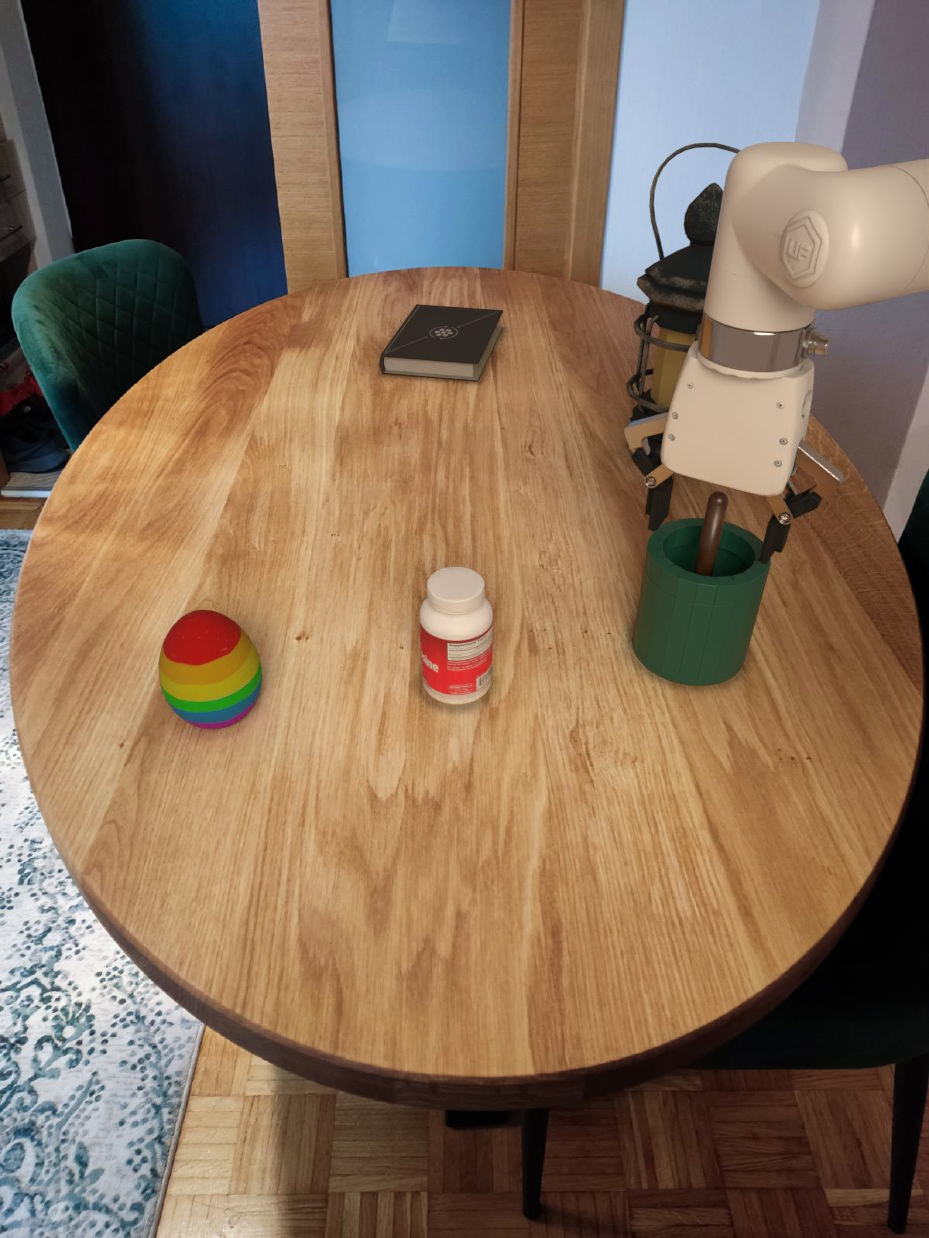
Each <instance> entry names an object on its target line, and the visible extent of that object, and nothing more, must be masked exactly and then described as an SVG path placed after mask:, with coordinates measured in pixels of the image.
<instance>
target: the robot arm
mask: <svg viewBox="0 0 929 1238" xmlns="http://www.w3.org/2000/svg"><path fill="white" fill-rule="evenodd" d="M740 150H741V151H740V152H738V153H735V155H734V157H733V158H732V160H731V162H730V163H729V166H728V168H727V171H726V175H725V179H724V185H723V197H722V203H721V209H720V215H719V221H718V227H717V233H716V239H715V245H714V251H713V257H712V262H711V268H710V274H709V280H708V286H707V292H706V298H705V304H704V310H703V316H702V322H701V328H700V334H699V340H697V341H695V342H694V343H693V344H692V346H691V347H690V348H689V350H688V353H687V355H686V358H685V360H684V363H683V366H682V368H681V371H680V374H679V377H678V380H677V384H676V387H675V390H674V394H673V398H672V401H671V405H670V409H669V412H666V413H662V414H659V415H655V416H651V417H647V418H644V419H640V420H636V421H633V422H629V423H628V424H629V425H628V424H627V425H628V426H627V425H626V426H627V427H626V426H625V428H624V429H623V435H624V439H625V441H626V444H627V447H628V449H629V451H630V452H631V460H632V462H633V463H634V465H635V466H636V468H637V469H638V470H639V472H640V473H641V474H642V476H643V477H644V478H643V483H644V485H645V486H646V487H647V495H646V502H645V508H644V514H645V515H646V516H649V517H648V522H647V523H648V524H647V530H648V531H652V532H654V531H655V530H657V529H658V528H659V527H660V526H662V525H663V523H665V521H666V520H667V518H668V516H669V513H670V507H671V500H672V495H673V489H674V483H675V479H674V478H673V477H674V474H677V475H680V476H683V477H687V478H690V479H694V480H697V481H701V482H705V483H709V484H712V485H716V486H719V487H724V488H727V489H732V490H735V491H739V492H743V493H747V494H750V495H755V496H761V497H764V499H765V500H766V502H767V504H768V506H769V508H770V509H771V511H772V513H773V514H772V515H771V516H770V519H769V520H768V522H767V525H766V528H765V533H764V537H763V540H762V541H763V545H762V549H761V553H760V557H759V561H761V563H763V564H766V565H767V564H768V562H769V560H770V559H772V557H773V555H774V553H775V552H776V553H779V554H782V552H783V551H784V549H785V547H786V545H787V544H786V543H787V540H788V537H789V533H790V531H791V525H792V522H793V521H794V520H796V519H798V518H800V517H802V516H804V515H806V514H809V513H810V512H813V511H815V510H817V509H818V508H819V506H820V505H821V504H822V503H823V502H824V501H826V500H828V499H829V498H830V497H831V496H832V495H833V494H834V493H835V492H836V491H837V490H838V489H839V488H840V487H841V486H842V483H843V482H844V480H845V475H844V473H843V472H842V471H841V470H840V469H838V468H837V467H836V466H835V465H834V464H833V463H831V462H830V461H828V460H827V459H826V458H825V457H824V456H822V454H820V453H819V452H818V451H816V450H815V449H814V448H813V447H811V445H809V444H808V443H806V442H805V441H806V435H807V430H808V426H809V421H810V415H811V410H812V409H811V408H812V403H813V394H814V383H815V363H814V361H813V359H811V358H810V357H809V356H811V357H812V356H813V357H815V356H817V355H818V356H822V357H826V356H827V354H828V352H829V349H830V346H831V342H832V336H831V335H824V334H822V332H820V331H817V326H815V325H816V320H817V318H815V316H816V312H817V311H825V312H830V311H831V312H832V311H835V312H836V311H841V310H842V311H843V310H849V309H852V308H856V307H862V306H866V305H871V304H875V303H880V302H884V301H886V300H889V299H895V298H899V297H904V296H909V295H912V294H917V293H922V292H927V291H929V158H922V159H916V160H908V161H903V162H895V163H889V164H882V165H876V166H873V167H863V168H862V167H861V168H854V169H849V167H848V164H847V163H848V162H847V161H846V159H845V157H844V156H842V154H841V153H840V152H838V151H837V150H834V149H832V148H829V147H827V146H823V145H819V144H813V143H807V142H796V141H769V142H768V141H767V142H759V143H754V144H752V145H749V146H746V147H744V148H742V149H740ZM660 433H664V434H663V439H662V446H661V459H660V458H659V457H658V455H657V454H656V452H655V451H654V450H653V448H652V447H651V446H650V445H649V444H648V439H647V437H648V436H652V435H656V434H660ZM798 468H800V469H801V470H802V471H803V472H804V473H806V474H807V475H808V476H809V477H810V478H812V480H814V481H815V483H816V484H814V485H813V486H812V487H809V488H808V489H805V490H804V491H803V490H802V492H800V493H798V491H797V490H796V488H795V486H794V484H793V482H792V480H791V476H792V477H794V476H795V474H796V472H797V471H798Z"/></svg>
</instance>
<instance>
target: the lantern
mask: <svg viewBox="0 0 929 1238" xmlns="http://www.w3.org/2000/svg"><path fill="white" fill-rule="evenodd" d="M701 148H716V149H719V150H723V151H727V152H730V153H735V154H737V153H738V152H740V151H741V150H742V149H739V148H737V147H733V146H730V145H726V144H722V143H719V142H718V143H717V142H697V143H691V144H688V145H685V146H682V147H681V148H679V149H677V150H676V149H675V150H674V152H671V154H670V155H668V156H667V157H666V158H665V160H664V161H663V162H662V163H661V164H660V166H659V167H658V169H657V171H656V172H655V174H654V177H653V179H652V182H651V186H650V192H649V201H648V204H649V205H648V207H649V217H650V225H651V228H652V232H653V236H654V239H655V244H656V248H657V253H658V259H659V260H657V261H656V262H654V263H652V264H651V265H649V266H648V267H646V268H645V269H644V274H642V275H640V276H638V277H637V278H636V279H637V280H636V286H637V287H638V289H639V290H640V291H641V292H642V293H643V294H644V295H645V296H646V297H647V298H648V302H647V303H646V305H645V307H644V311H643V313H642V314H640V315H639V316H638V317H637V318H636V319H635V320H634V321H633V329H634V333H635V335H636V336H638V337H639V339H640V341H639V347H638V348H639V349H638V357H637V364H636V372H635V374H632V375H631V377H630V378H629V379H628V381H627V382H626V384H625V387H626V388H625V389H626V391H627V396H628V397H630V398H631V399H632V400H633V401H634V402H636V403H637V404H636V405H635V406H633V407H632V411H631V412H632V413H631V416H630V417H629V418H628V420H629V423H628V424H627V425H626V426H625V428H626V427H627V426H628V425H629V424H630V423H631V422H633V421H636V420H640V419H644V418H647V417H651V416H655V415H659V414H662V413H666V412H669V409H670V405H671V401H672V398H673V394H674V390H675V387H676V384H677V380H678V377H679V374H680V371H681V368H682V366H683V363H684V360H685V358H686V355H687V353H688V350H689V348H690V347H691V346H692V344H693V343H694V342H695V341H697V340H699V334H700V328H701V322H702V316H703V310H704V304H705V298H706V292H707V286H708V280H709V274H710V268H711V262H712V257H713V251H714V245H715V239H716V233H717V227H718V221H719V215H720V209H721V203H722V197H723V191H724V189H723V188H722V187H721V185H720V184H719V183H716V182H711V183H710V184H708V185H707V186H706V187H705V188H704V189H702V191H701V192H699V194H698V195H697V196H696V197H695V198H694V199H693V200H692V201H691V202H690V203H689V204H688V206H687V208H686V211H685V212H684V218H683V229H684V235H685V237H686V239H688V240H689V245H686V246H684V247H682V248H680V249H678V250H675V251H674V252H672V253H670V254H668V255H666V256H665V253H664V249H663V245H662V241H661V236H660V232H659V228H658V224H657V220H656V211H655V194H656V188H657V184H658V180H659V177H660V176H661V173H662V172H663V170H664V168H665V167H666V165H667V164H668V163H669V162H670V161H671V160H672V159H674V158H675V157H676V156H678V155H679V154H682V153H684V152H685V151H689V150H692V149H693V150H694V149H701ZM648 319H649V320H648ZM648 321H649V322H648ZM654 324H656V325H657V326H658V327H659V329H658V335H657V337H653V336H652V330H653V327H654ZM650 344H651V345H653V346H656V350H655V357H654V363H653V368H647V367H648V360H649V352H650ZM649 375H652V378H651V387H650V388H649V389H647V390H646V391H644V390H645V383H646V376H649ZM634 385H635V388H636V391H637V392H638V393H637V392H635V389H634ZM663 434H664V433H660V434H656V435H652V436H648V437H647V439H648V444H649V445H650V446H651V447H652V448H653V450H654V451H655V452H656V454H657V455H658V457H659V458H660V459H661V446H662V439H663Z"/></svg>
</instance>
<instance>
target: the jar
mask: <svg viewBox="0 0 929 1238" xmlns="http://www.w3.org/2000/svg"><path fill="white" fill-rule="evenodd" d="M704 518H705V517H687V518H679V519H675V520H672V521H667V522H664V524H663V523H662V524H661V525H660V527H659V528H658V529H657V530H655V531H652V533H651V534H650V536H649V537H648V539H647V544H646V550H645V551H646V552H645V558H644V564H643V571H642V576H641V583H640V589H639V597H638V602H637V609H636V616H635V622H634V629H633V636H632V649H633V651H634V654H635V656H636V657H637V659H638V661H639V662H640V663H641V664H642V665H643V666H644V667H645V668H646V669H647V670H649V671H650V672H652V673H653V674H654V675H657V676H658V677H660V678H662V679H665V680H667V681H670V682H673V683H677V684H681V685H686V686H698V687H701V686H712V685H717V684H721V683H723V682H726V681H728V680H730V679H732V678H734V677H735V676H736V675H737V674H738V673H739V672H741V670H742V668H743V666H744V663H745V661H746V658H747V655H748V652H749V648H750V644H751V642H752V641H751V640H752V636H753V632H754V629H755V626H756V622H757V618H758V614H759V610H760V606H761V602H762V600H763V599H762V598H763V595H764V591H765V587H766V583H767V580H768V576H769V574H770V573H769V572H770V569H771V566H772V560H771V559H772V558H771V559H770V560H769V562H768V564H767V565H766V564H763V563H761V561H759V557H760V553H761V549H762V545H763V541H764V540H762V539H761V538H759V537H758V536H757V535H755V534H754V533H753V532H751V531H750V530H748V529H745V528H743V527H741V526H739V525H737V524H735V523H732V522H729V521H728V522H727V521H724V524H723V529H722V533H721V538H720V543H719V547H718V552H717V557H716V561H715V566H714V570H713V575H712V577H710V576H702V575H699V574H695V573H694V568H695V563H696V558H697V553H698V548H699V543H700V538H701V533H702V528H703V523H704Z"/></svg>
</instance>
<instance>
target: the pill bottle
mask: <svg viewBox="0 0 929 1238" xmlns="http://www.w3.org/2000/svg"><path fill="white" fill-rule="evenodd" d="M485 585H486V584H485V580H484V578H483V576H482V575H481V574H480V573H478V572H477V571H475V570H473V569H472V568H469V567H465V566H447V567H443V568H440V569H438V570H436V571H434V572H433V573H432V574H431V575H430V576H429V577H428V579H427V583H426V597H425V599H424V600H423V601H422V603H421V605H420V607H419V614H418V615H419V616H418V619H419V622H418V623H419V643H420V644H419V645H420V663H421V666H420V667H421V680H422V685H423V688H424V690H425V691H426V692H427V694H428V695H429V696H430V697H431V698H433V699H435V701H438V702H439V703H440V702H441V703H443V704H448V705H465V704H470V703H472V702H475V701H477V700H479V699H481V698H482V697H483V696H484V695H485V694H486V693H487V692H488V690H489V689H490V687H491V684H492V677H493V631H494V630H493V628H494V612H493V607H492V604H491V603H490V601H489V600H488V598H487V597H486V590H485V589H486V588H485Z"/></svg>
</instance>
